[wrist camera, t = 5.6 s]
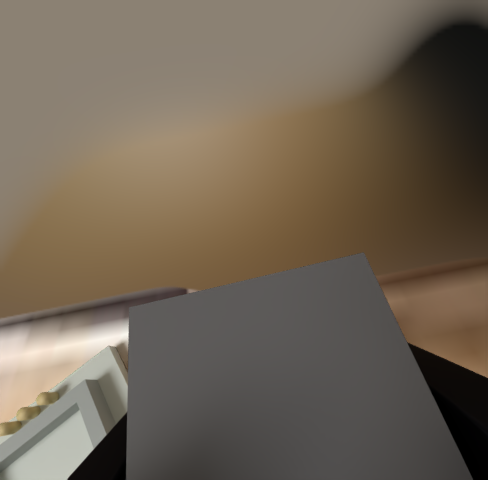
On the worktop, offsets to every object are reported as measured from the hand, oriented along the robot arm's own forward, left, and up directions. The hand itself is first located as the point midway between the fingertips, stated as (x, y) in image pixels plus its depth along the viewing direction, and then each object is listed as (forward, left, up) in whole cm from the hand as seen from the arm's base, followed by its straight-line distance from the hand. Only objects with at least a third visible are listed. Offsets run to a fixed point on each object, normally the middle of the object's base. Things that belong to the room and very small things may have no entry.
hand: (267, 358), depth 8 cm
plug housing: (-1, -1, -7) cm, 7 cm away
